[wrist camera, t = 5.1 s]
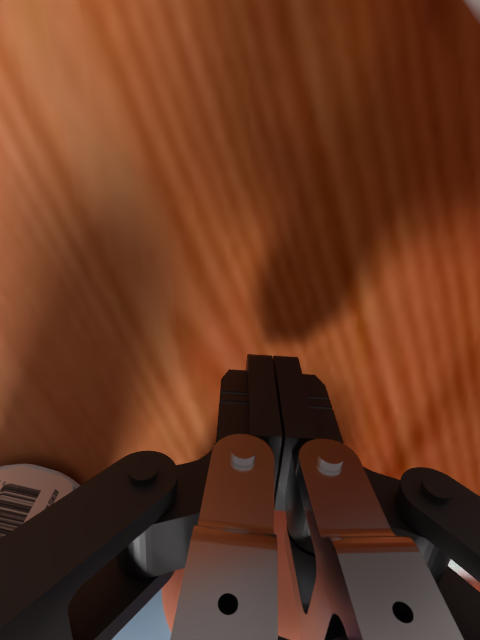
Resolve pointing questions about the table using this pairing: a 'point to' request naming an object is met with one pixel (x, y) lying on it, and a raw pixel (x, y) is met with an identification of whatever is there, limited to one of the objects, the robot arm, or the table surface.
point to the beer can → (29, 492)
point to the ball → (286, 600)
